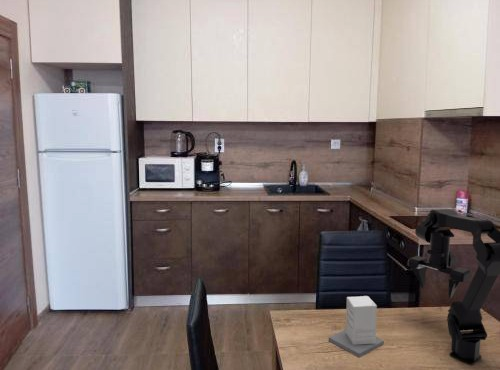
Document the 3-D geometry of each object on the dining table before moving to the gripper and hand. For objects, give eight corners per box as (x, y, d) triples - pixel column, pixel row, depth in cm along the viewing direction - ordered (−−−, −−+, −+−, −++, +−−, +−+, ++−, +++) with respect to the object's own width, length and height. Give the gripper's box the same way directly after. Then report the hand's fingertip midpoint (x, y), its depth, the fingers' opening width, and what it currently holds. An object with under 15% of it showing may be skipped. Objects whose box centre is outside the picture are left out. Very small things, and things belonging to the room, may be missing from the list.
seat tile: (383, 344, 128) (383, 340, 128) (359, 357, 121) (359, 353, 121) (352, 329, 137) (352, 325, 137) (328, 340, 130) (328, 337, 130)
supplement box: (367, 332, 133) (368, 295, 131) (375, 344, 126) (377, 305, 124) (345, 333, 133) (346, 296, 131) (352, 345, 125) (353, 306, 123)
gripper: (481, 249, 130) (477, 296, 132) (425, 236, 145) (423, 279, 147) (464, 256, 123) (460, 305, 126) (407, 242, 138) (405, 286, 140)
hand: (436, 293), depth 135 cm, fingers open, 9 cm apart
